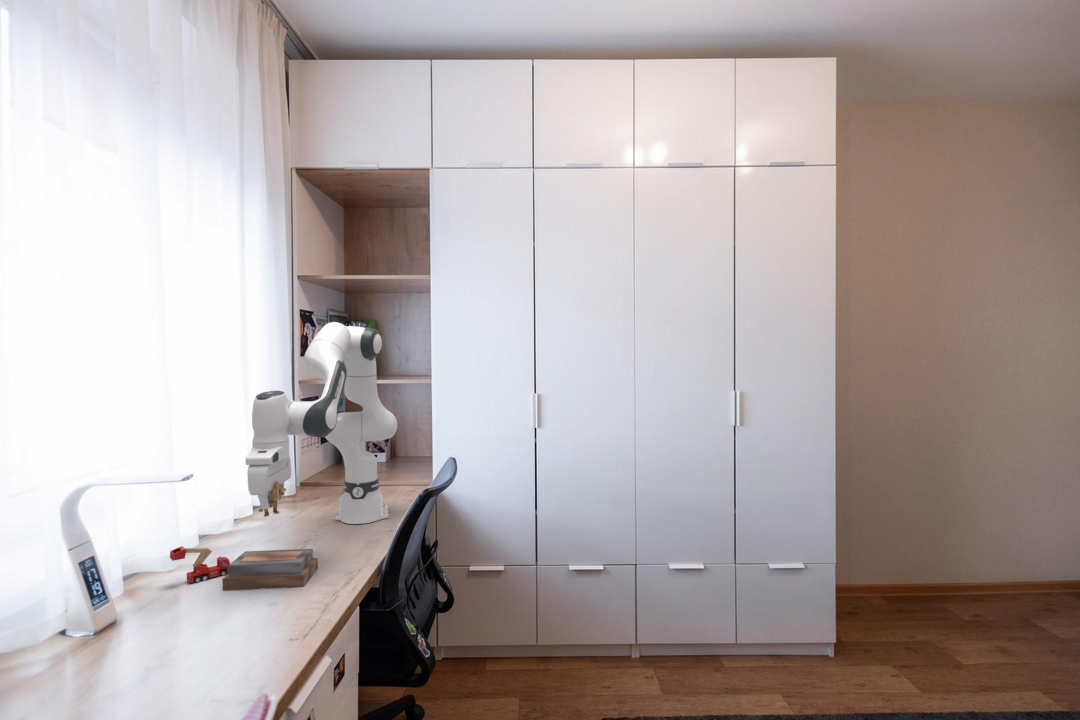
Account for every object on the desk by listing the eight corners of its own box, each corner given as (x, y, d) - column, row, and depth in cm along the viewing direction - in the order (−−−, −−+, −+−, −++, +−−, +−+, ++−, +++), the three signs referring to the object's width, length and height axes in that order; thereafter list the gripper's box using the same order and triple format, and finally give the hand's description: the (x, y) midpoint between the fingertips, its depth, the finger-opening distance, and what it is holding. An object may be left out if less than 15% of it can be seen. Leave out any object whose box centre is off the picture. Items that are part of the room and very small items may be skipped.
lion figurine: (289, 514, 146) (287, 480, 146) (268, 519, 142) (266, 485, 142) (269, 505, 156) (267, 473, 156) (249, 510, 153) (247, 477, 153)
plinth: (243, 571, 153) (242, 549, 153) (317, 568, 155) (317, 546, 155) (222, 590, 141) (222, 566, 141) (303, 586, 143) (303, 562, 143)
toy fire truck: (231, 573, 152) (231, 539, 152) (173, 589, 142) (172, 552, 142) (228, 570, 154) (227, 536, 154) (170, 585, 145) (169, 548, 145)
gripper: (273, 445, 158) (274, 494, 158) (242, 459, 137) (243, 515, 137) (296, 445, 158) (297, 493, 158) (268, 459, 138) (269, 514, 138)
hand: (271, 503), depth 148 cm, fingers closed on lion figurine, 8 cm apart
